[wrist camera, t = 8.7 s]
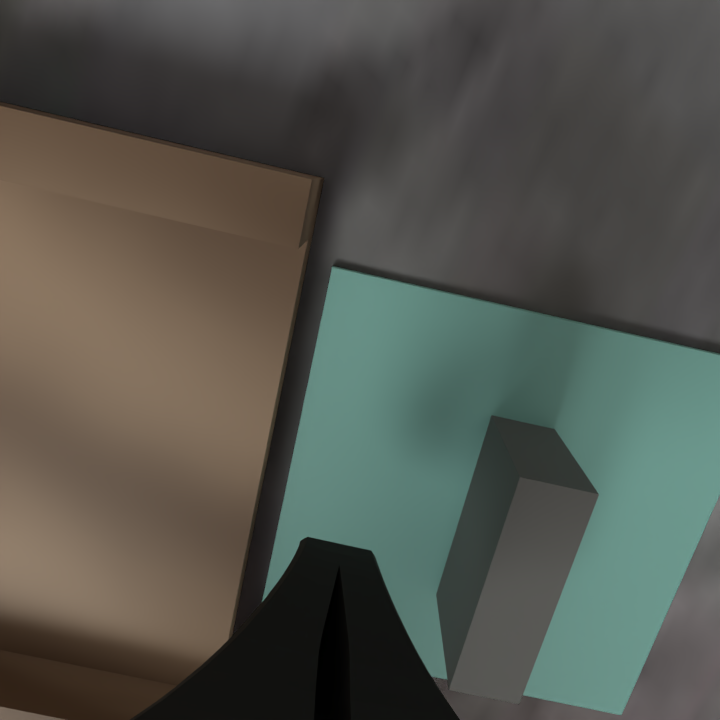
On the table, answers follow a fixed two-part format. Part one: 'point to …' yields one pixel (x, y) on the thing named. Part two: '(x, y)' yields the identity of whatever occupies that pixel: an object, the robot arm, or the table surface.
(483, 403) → the cover plate
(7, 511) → the wooden tray
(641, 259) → the table surface
